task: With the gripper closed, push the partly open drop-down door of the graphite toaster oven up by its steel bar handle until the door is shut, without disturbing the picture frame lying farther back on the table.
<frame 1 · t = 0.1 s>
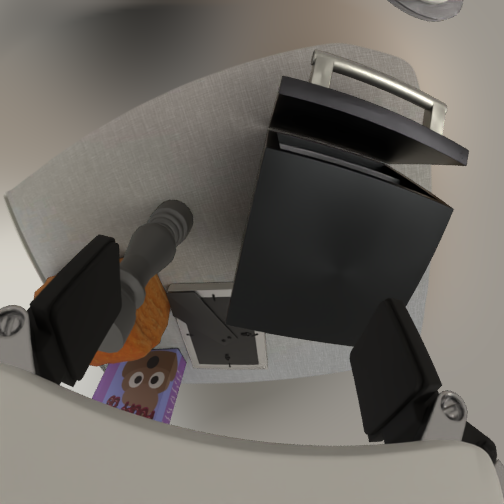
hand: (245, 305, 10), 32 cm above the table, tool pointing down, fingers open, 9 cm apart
candle holder: (174, 218, 44), on the table
picture frame: (223, 326, 54), on the table
oven door: (358, 113, 27), point 8 cm above the table, hinge at 13.1°
oven: (314, 205, 41), on the table
cereal box: (149, 356, 60), on the table
bread: (108, 292, 52), on the table
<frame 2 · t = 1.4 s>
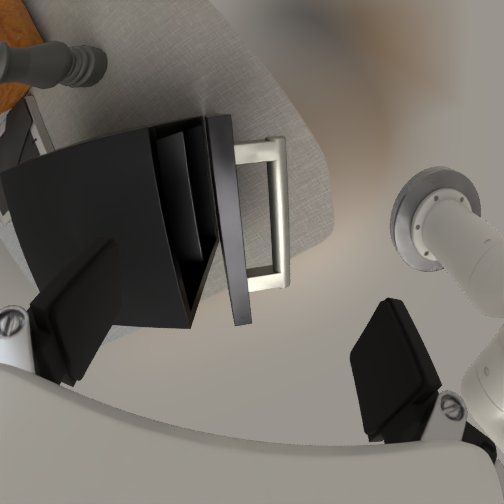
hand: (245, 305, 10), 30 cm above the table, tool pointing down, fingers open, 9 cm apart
candle holder: (90, 67, 30), on the table
picture frame: (17, 163, 37), on the table
oven door: (244, 198, 30), point 8 cm above the table, hinge at 12.7°
oven: (149, 188, 38), on the table
bread: (10, 44, 25), on the table
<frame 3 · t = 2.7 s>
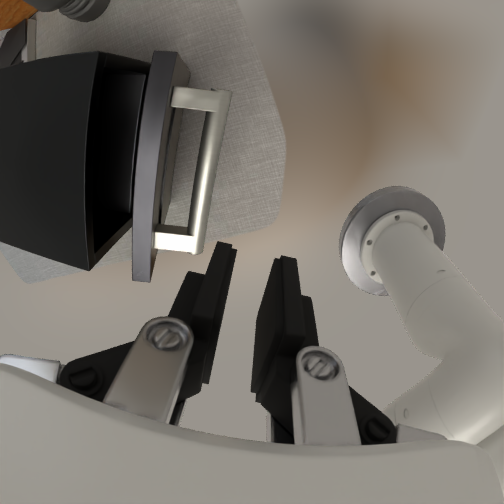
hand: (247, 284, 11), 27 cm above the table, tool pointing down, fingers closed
candle holder: (93, 4, 24), on the table
picture frame: (1, 82, 28), on the table
oven door: (183, 155, 27), point 8 cm above the table, hinge at 12.7°
oven: (106, 131, 33), on the table
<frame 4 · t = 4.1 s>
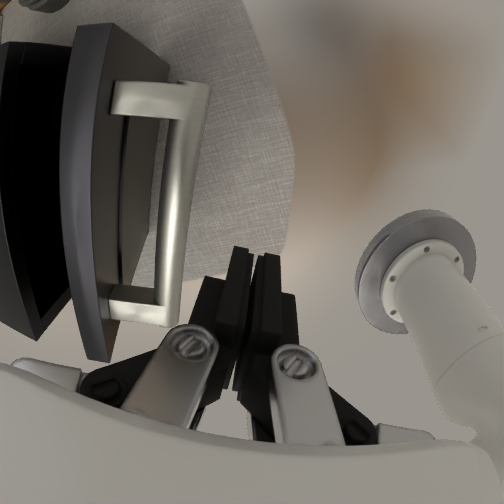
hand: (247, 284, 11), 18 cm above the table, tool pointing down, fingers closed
oven door: (152, 179, 19), point 8 cm above the table, hinge at 12.7°
oven: (71, 143, 26), on the table
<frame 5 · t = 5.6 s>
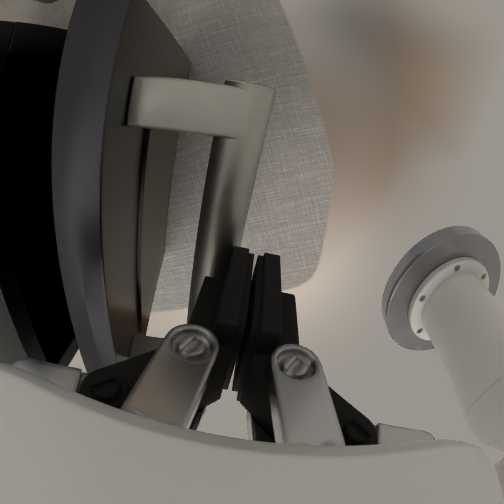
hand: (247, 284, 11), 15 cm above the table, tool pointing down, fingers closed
oven door: (176, 202, 16), point 8 cm above the table, hinge at 10.9°, touching gripper
oven: (74, 151, 23), on the table
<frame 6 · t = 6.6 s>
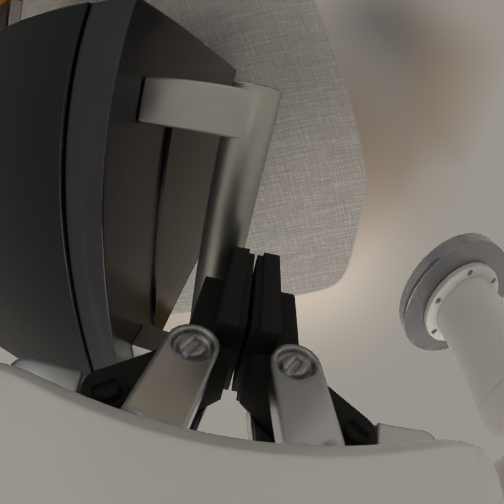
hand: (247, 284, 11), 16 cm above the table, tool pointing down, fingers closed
oven door: (204, 204, 17), point 9 cm above the table, hinge at -0.8°, touching gripper, oven
oven: (109, 150, 24), on the table
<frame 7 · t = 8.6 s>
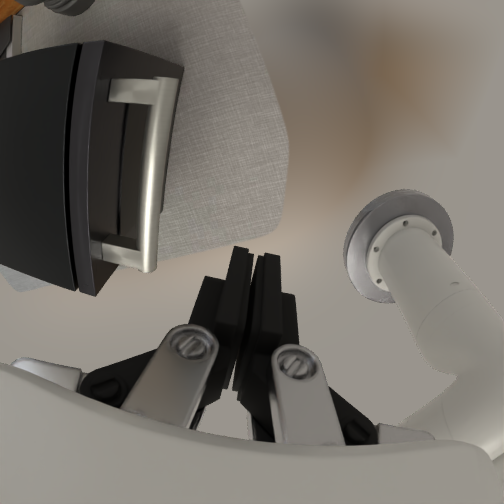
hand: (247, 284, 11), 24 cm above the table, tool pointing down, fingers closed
oven door: (154, 157, 23), point 9 cm above the table, hinge at 0.2°
oven: (94, 132, 30), on the table
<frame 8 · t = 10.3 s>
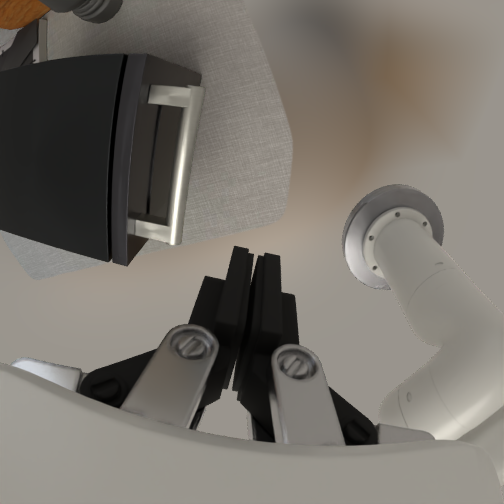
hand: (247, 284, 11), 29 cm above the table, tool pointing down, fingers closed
candle holder: (105, 6, 25), on the table
picture frame: (11, 80, 30), on the table
oven door: (179, 151, 28), point 9 cm above the table, hinge at 0.2°
oven: (119, 130, 35), on the table
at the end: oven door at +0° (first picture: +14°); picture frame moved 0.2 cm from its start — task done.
